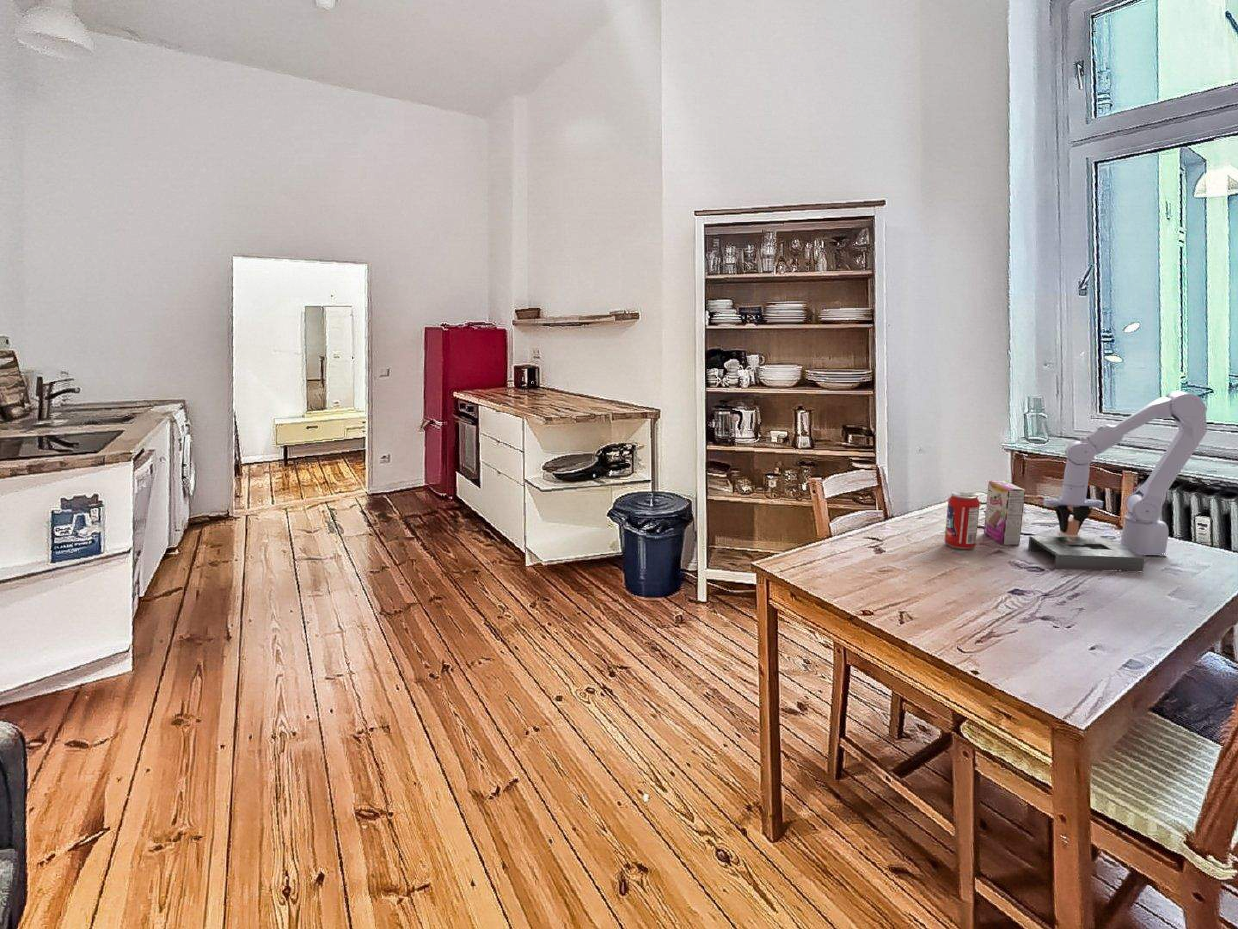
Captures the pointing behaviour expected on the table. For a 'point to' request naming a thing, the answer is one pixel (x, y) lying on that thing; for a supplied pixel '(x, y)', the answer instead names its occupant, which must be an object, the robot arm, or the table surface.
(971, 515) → the soda can
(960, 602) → the table surface
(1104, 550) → the keyhole bracket
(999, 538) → the candy bar box
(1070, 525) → the peg
